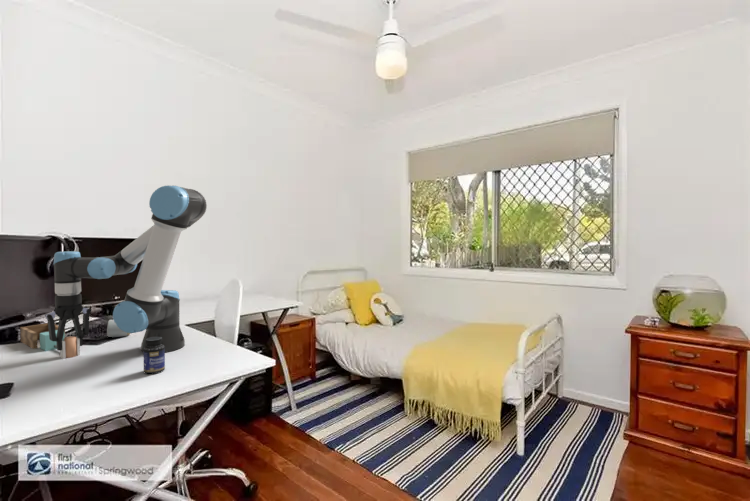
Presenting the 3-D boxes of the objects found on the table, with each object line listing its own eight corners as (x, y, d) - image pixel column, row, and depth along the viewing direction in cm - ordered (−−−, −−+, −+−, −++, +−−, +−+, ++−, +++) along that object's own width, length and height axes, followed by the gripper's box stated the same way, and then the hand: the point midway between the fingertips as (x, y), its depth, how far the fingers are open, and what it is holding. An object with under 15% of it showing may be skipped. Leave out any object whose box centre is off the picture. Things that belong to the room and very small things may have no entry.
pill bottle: (149, 376, 121) (149, 342, 121) (139, 372, 125) (139, 339, 124) (168, 370, 127) (168, 337, 126) (158, 366, 130) (158, 334, 129)
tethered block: (82, 355, 140) (81, 336, 140) (62, 359, 135) (61, 340, 135) (59, 344, 152) (58, 327, 152) (40, 348, 147) (39, 330, 147)
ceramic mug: (129, 337, 164) (129, 319, 163) (106, 339, 160) (106, 321, 160) (132, 331, 173) (132, 315, 173) (110, 333, 169) (110, 316, 169)
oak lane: (65, 342, 155) (64, 328, 155) (33, 348, 147) (33, 333, 146) (51, 336, 164) (50, 322, 163) (20, 341, 155) (20, 327, 155)
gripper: (91, 289, 147) (92, 349, 148) (35, 295, 133) (37, 361, 134) (99, 291, 142) (101, 352, 144) (42, 298, 128) (44, 365, 130)
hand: (70, 356), depth 139 cm, fingers closed on tethered block, 4 cm apart
